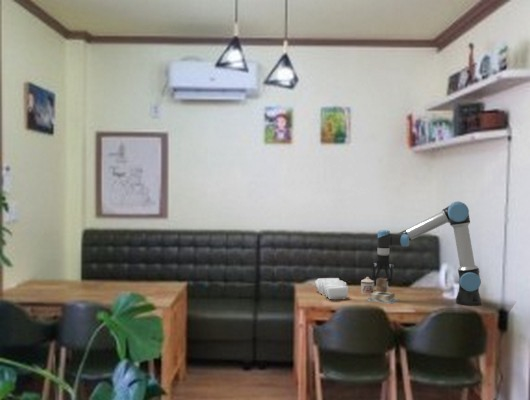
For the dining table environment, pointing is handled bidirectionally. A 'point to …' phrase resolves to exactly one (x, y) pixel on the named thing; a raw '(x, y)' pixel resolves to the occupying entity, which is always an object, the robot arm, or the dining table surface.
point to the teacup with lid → (367, 286)
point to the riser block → (382, 296)
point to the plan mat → (384, 302)
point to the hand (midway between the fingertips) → (382, 290)
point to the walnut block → (381, 284)
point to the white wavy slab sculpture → (332, 288)
